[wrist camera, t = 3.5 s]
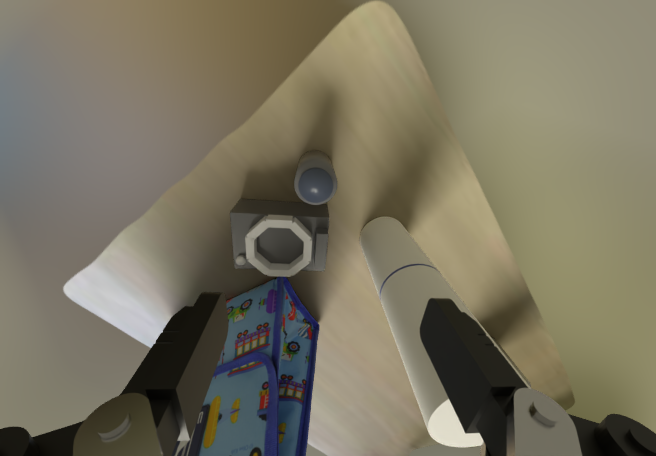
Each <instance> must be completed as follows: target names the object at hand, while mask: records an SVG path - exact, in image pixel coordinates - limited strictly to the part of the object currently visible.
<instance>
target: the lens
mask: <svg viewBox="0 0 656 456" xmlns="http://www.w3.org/2000/svg"><path fill="white" fill-rule="evenodd" d="M294 187H295V191H296V193H297V195H298V196H299V198H300V199H301V200H303V201H304V202H306V203H308V204H312V205H320V204H323V203H326V202H328V201H329V200H330V199H331V198H332V197H333V196H334V194H335V192H336V190H337V178H336V175H335V172H334V169H333V166H332V163H331V161H330V159H329V157H328V156H327V155H326V154H325V153H323V152H321V151H318V150H312V151H309V152H306V153H305V154H304V155H303V156H302V157H301V158H300V160H299V163H298V168H297V172H296V176H295V180H294Z"/></svg>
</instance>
